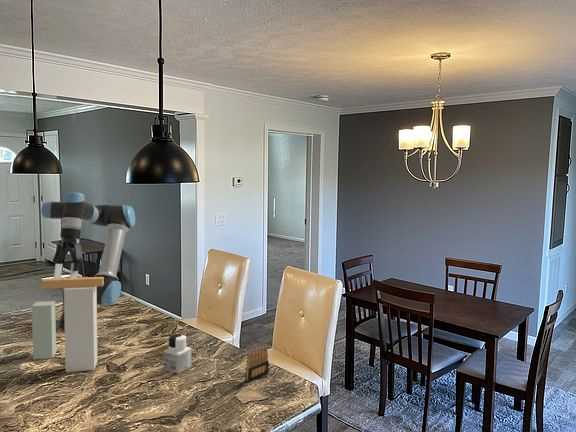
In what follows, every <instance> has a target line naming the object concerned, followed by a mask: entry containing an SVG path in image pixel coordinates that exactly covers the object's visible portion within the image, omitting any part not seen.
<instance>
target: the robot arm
mask: <svg viewBox="0 0 576 432" xmlns="http://www.w3.org/2000/svg"><path fill="white" fill-rule="evenodd" d="M85 198H86V197H85V195H84V194H83V193H80V192H77V191H76V192H75V191H74V192H73V191H69V192H66V193H65V197H64V200H63V201H45V202H44V203H43V204H42V205H41V208H40V209H41V210H40V211H41V215H42V217H44V218H45V219H51V220H52V219H57V220H59V219H60V220H61V229H60V237H61V238H63V240H59V241H58V245H57V247H56V251H55V254H54V255H53V259H52V262H53V263H54V272H53V279H55V278H62V272H63V264H64V262H63V261H64V259H65V258H66V256H67V254H68V253H69V254H70V257H71V260H72V261H71V265H70V272H69V273H70V274H69V275H70V276H69V278H85V277H86V276H78V275H79V266H80V263H81V262H83V260H84V258H83V252H82V246H81V243H82V240H81V239H80V238H81V233H82V232H81V229H82V224H83V222H84V223H85V224H90V225H95V226H99V227H105V228H106V230H107V235H106V239H105V244H104V248H103V252H102V258H101V261H100V265H99V269H98V272H97V273H96V274H95V275H94V276H93V277H104V285H103V286H96V291H97V305H99V306H100V305H103V306H107V305H114V304H116V303H117V301H118V300H119V298H120V295H121V294H122V283H121V281H119V280H120V279H119V278H118V276H117V274H118V269H119V266H120V265H119V264H120V260H121V255H122V250H123V247H124V242H125V237H126V234H127V233H129V232H130V229H131V228H133V227H135V224H136V215H135V210H134V208H133V207H132V206H130V205H124V204H121V205H120V204H119V205H118V204H116V205H115V204H96V205H93V204H91V203H90V202H89V203H88V202H86V200H85ZM61 289H62V313H61V315H60V319H59V321H58V322H59V323H58V324H59V328H61V329H65V320H64V289H65V288H61Z"/></svg>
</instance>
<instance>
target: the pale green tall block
mask: <svg viewBox="0 0 576 432" xmlns="http://www.w3.org/2000/svg"><path fill="white" fill-rule="evenodd" d="M56 323H57V322H56V300H52V301H51V300H49V301H47V300H46V301H35V302H34V304H32V305H31V325H32V327H31V328H32V359H33V360H45V359H53V358H54V356H55V355H56V353H57V333H56V329H57V328H56V326H57V325H56Z"/></svg>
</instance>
